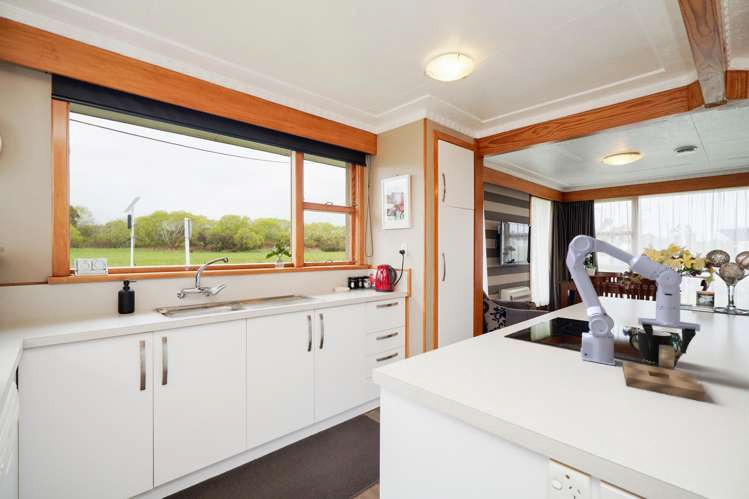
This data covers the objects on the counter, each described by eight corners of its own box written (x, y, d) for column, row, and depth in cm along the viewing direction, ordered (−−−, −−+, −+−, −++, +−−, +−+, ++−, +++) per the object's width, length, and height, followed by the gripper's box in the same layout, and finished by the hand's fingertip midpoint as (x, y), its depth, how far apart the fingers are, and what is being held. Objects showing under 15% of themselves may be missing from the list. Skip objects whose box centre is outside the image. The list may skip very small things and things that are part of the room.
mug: (675, 363, 114) (676, 334, 114) (662, 367, 110) (663, 336, 110) (635, 353, 124) (636, 326, 124) (622, 356, 120) (623, 328, 120)
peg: (659, 374, 103) (659, 346, 103) (657, 370, 106) (658, 344, 106) (675, 376, 101) (675, 349, 101) (672, 373, 104) (673, 346, 104)
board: (626, 385, 93) (626, 377, 93) (623, 369, 107) (623, 361, 107) (704, 401, 84) (705, 392, 84) (690, 381, 98) (690, 373, 98)
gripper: (639, 306, 104) (638, 349, 104) (703, 312, 96) (702, 358, 96) (637, 303, 110) (636, 344, 110) (697, 308, 102) (696, 352, 102)
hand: (667, 350), depth 104 cm, fingers open, 7 cm apart
